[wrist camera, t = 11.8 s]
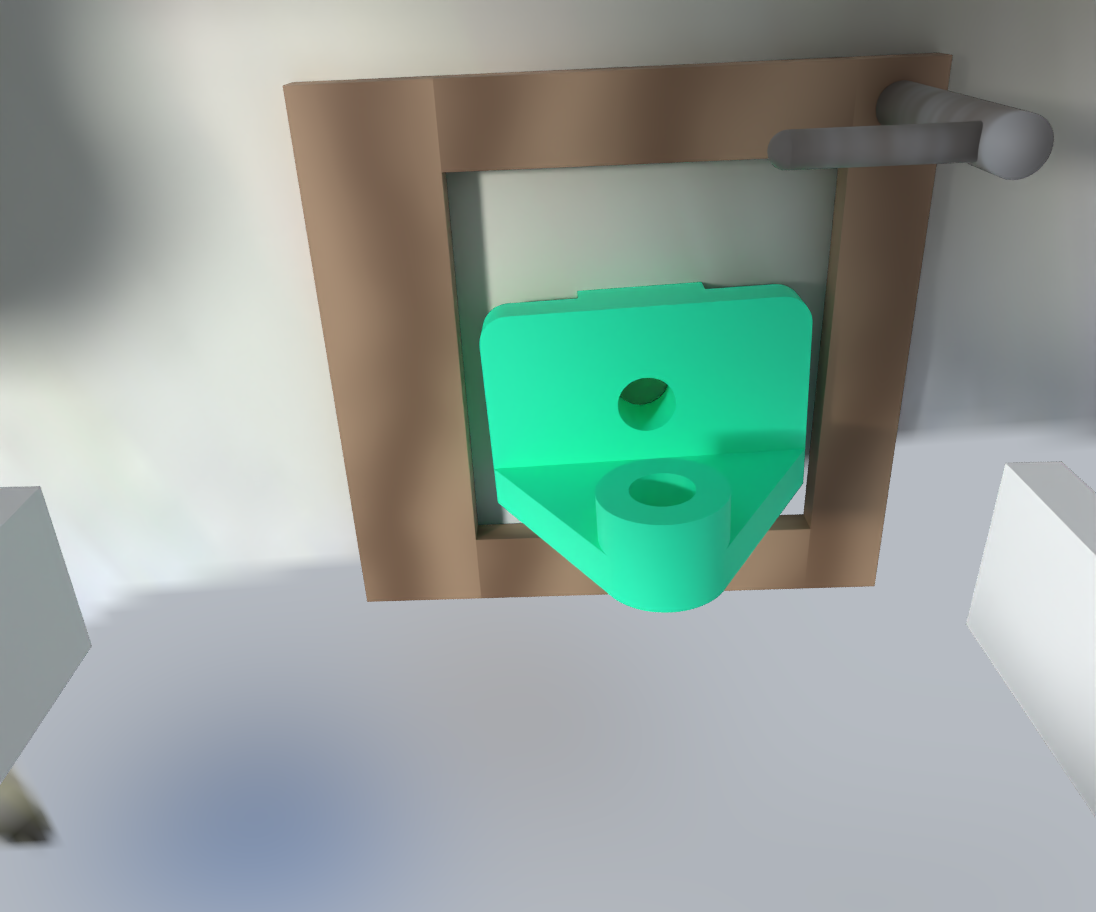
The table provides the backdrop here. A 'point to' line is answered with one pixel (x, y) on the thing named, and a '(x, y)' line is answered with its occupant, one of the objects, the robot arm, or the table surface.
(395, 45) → the table surface
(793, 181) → the table surface
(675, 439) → the camera mount
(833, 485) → the open wooden square frame
